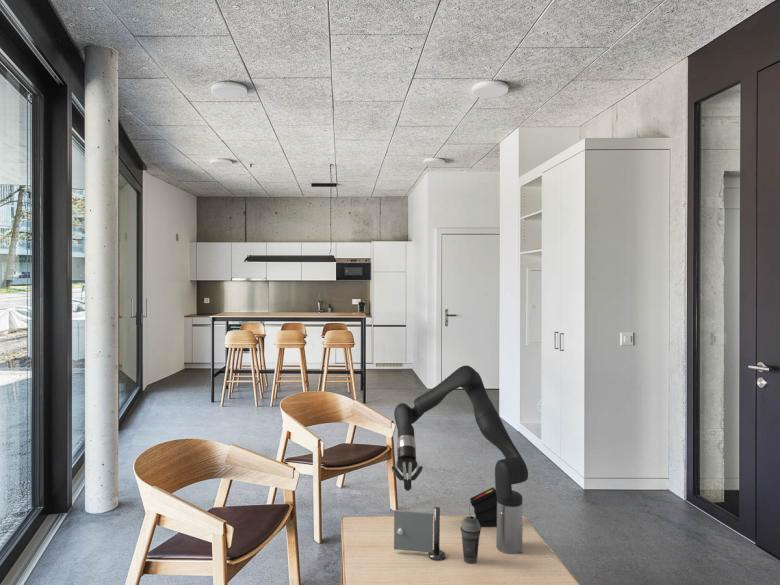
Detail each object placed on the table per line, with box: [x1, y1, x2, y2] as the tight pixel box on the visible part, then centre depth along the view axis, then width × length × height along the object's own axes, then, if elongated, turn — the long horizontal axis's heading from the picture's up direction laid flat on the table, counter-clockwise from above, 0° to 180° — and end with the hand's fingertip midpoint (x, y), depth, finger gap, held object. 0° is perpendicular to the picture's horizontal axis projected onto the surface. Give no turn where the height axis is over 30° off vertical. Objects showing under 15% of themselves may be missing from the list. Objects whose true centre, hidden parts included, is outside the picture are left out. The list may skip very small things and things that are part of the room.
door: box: [393, 509, 434, 553], centre depth 202 cm, size 14×2×14 cm, turn 81°
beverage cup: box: [459, 502, 482, 565], centre depth 198 cm, size 7×7×20 cm
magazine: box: [469, 487, 497, 528], centre depth 227 cm, size 4×13×15 cm, turn 93°
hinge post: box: [427, 506, 446, 562], centre depth 201 cm, size 6×6×18 cm
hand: (407, 490), depth 218 cm, fingers closed
